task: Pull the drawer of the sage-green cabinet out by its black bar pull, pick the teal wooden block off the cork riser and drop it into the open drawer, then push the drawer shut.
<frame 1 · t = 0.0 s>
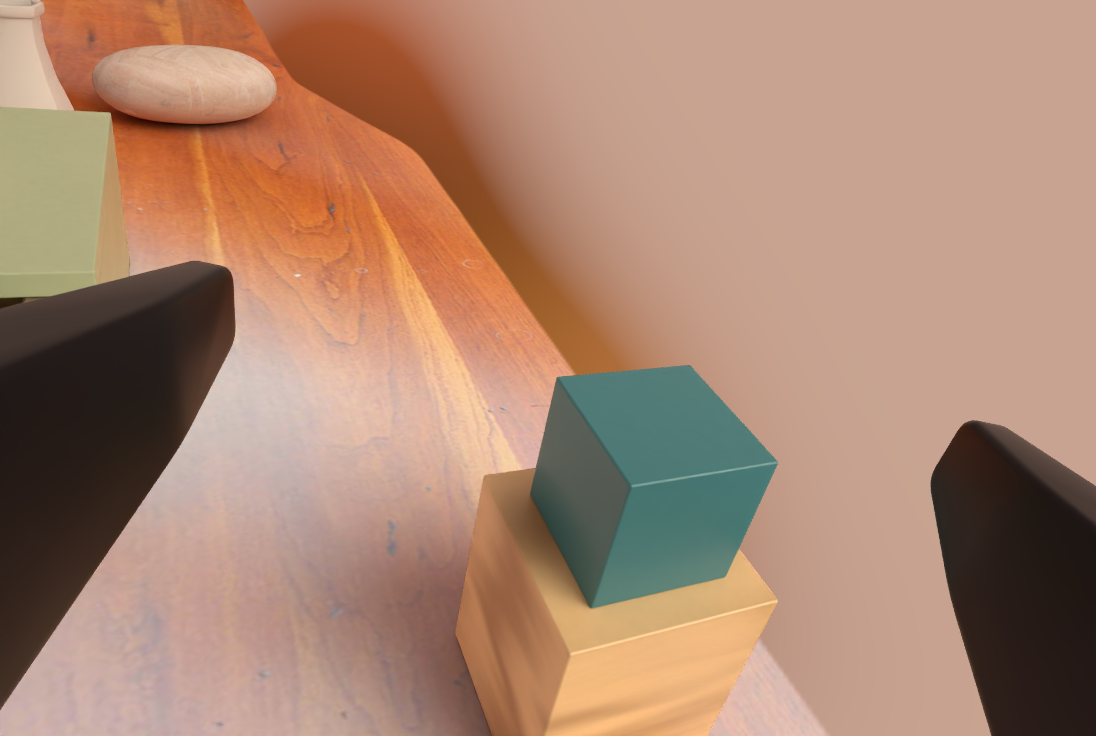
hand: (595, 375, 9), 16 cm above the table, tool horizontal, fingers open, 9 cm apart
riser: (572, 689, 24), on the table
decorative stone: (192, 121, 59), on the table
block: (624, 534, 20), point 7 cm above the table, touching riser
flask: (42, 180, 47), on the table
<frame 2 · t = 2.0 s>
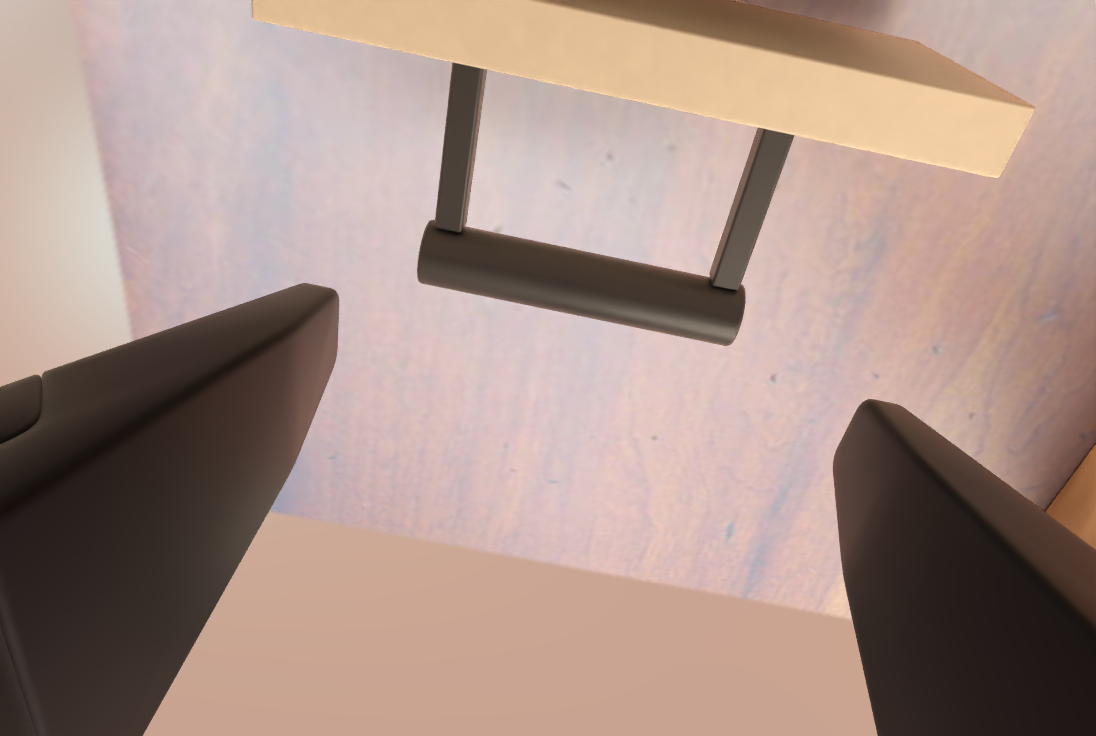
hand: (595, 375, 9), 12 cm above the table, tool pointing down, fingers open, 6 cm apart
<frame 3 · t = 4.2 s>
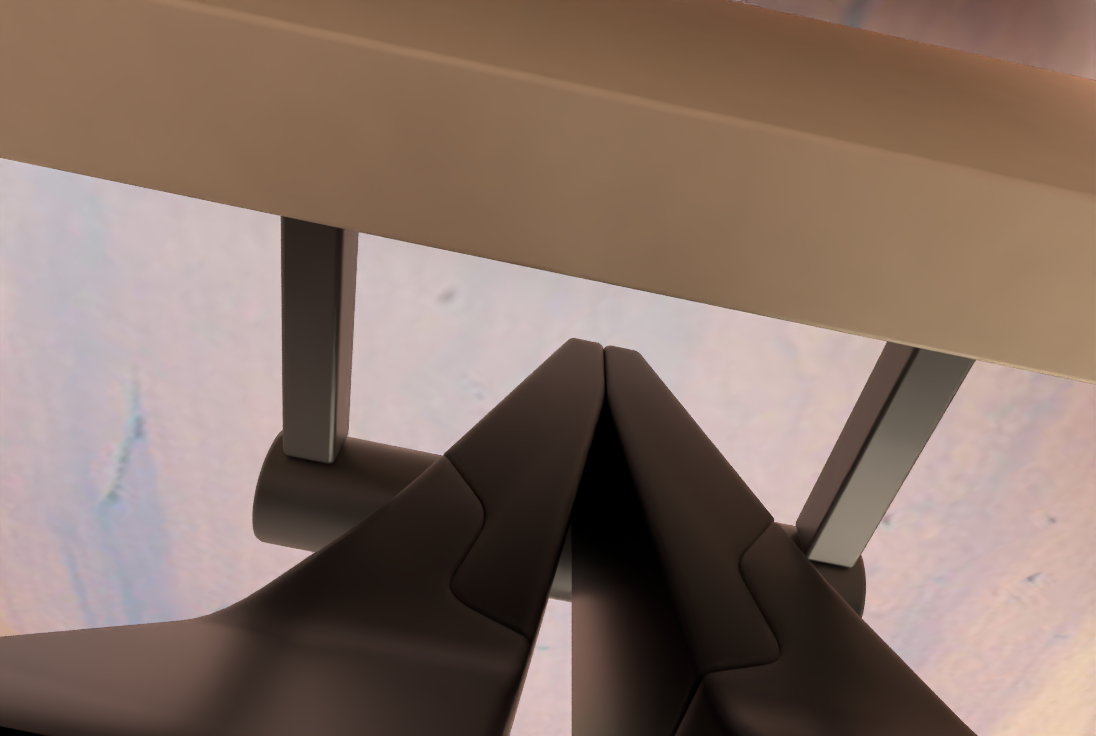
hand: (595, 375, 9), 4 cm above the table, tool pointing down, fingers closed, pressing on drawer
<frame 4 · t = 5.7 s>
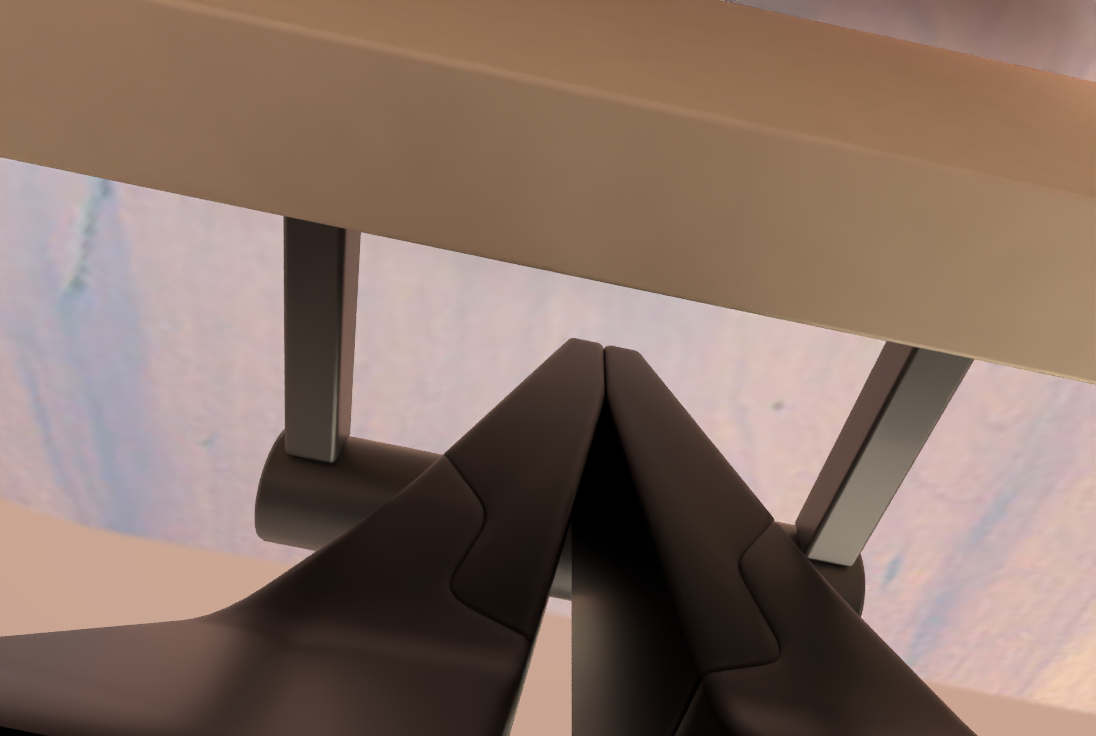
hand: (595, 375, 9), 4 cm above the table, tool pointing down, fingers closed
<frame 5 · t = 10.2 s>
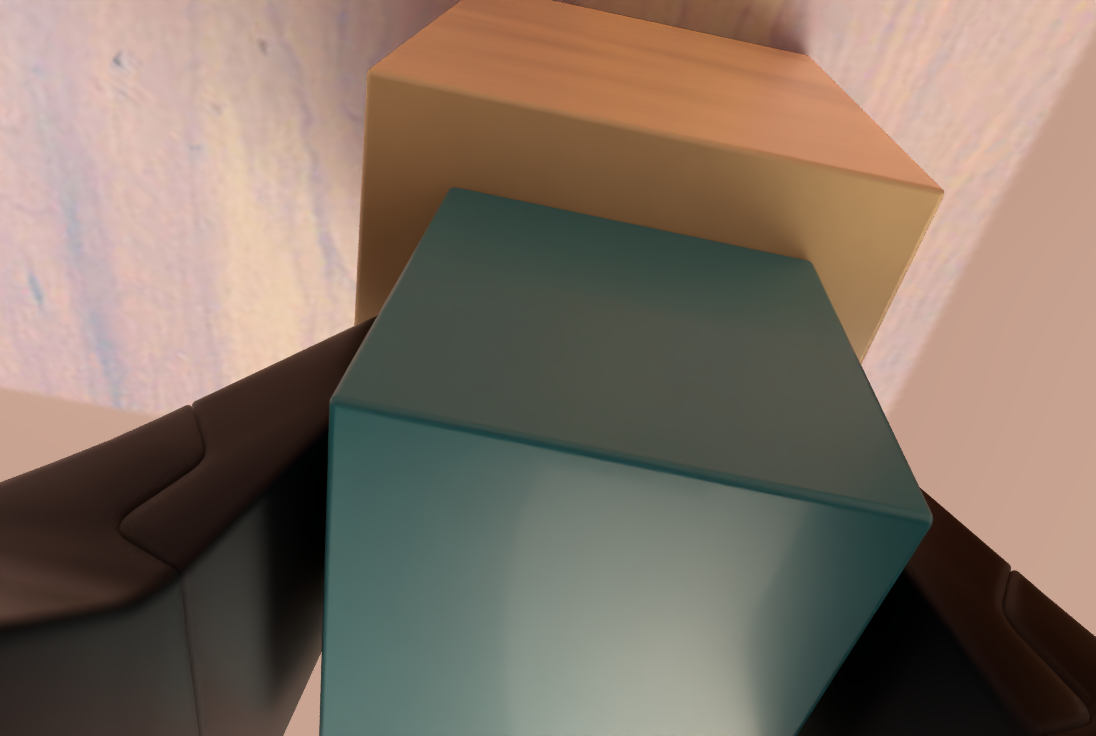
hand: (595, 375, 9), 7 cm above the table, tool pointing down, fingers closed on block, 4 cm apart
riser: (608, 181, 15), on the table
block: (593, 373, 9), point 7 cm above the table, touching gripper, riser
when the fingers open (6 cm above the table, at t = 15.6 s): block drops 4 cm, resting on drawer.
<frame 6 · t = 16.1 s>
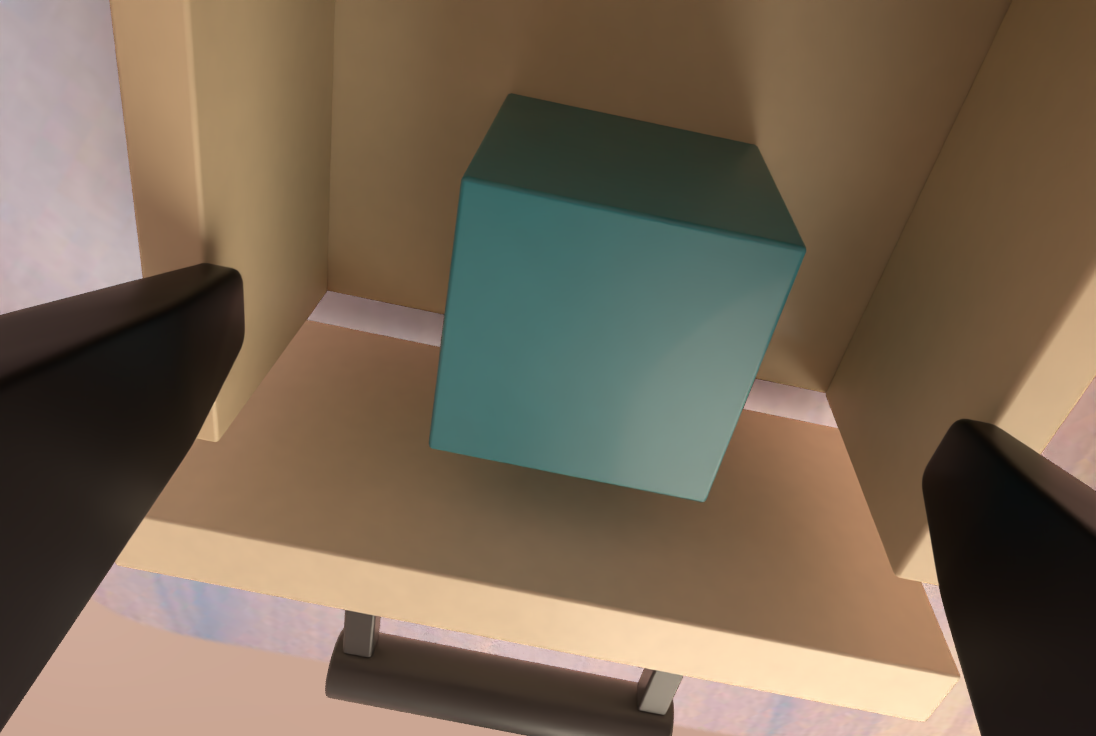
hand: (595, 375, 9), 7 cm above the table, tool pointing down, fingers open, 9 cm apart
block: (605, 235, 13), point 2 cm above the table, touching drawer
drawer: (599, 288, 12), point 4 cm above the table, slide at 9.7 cm, touching block
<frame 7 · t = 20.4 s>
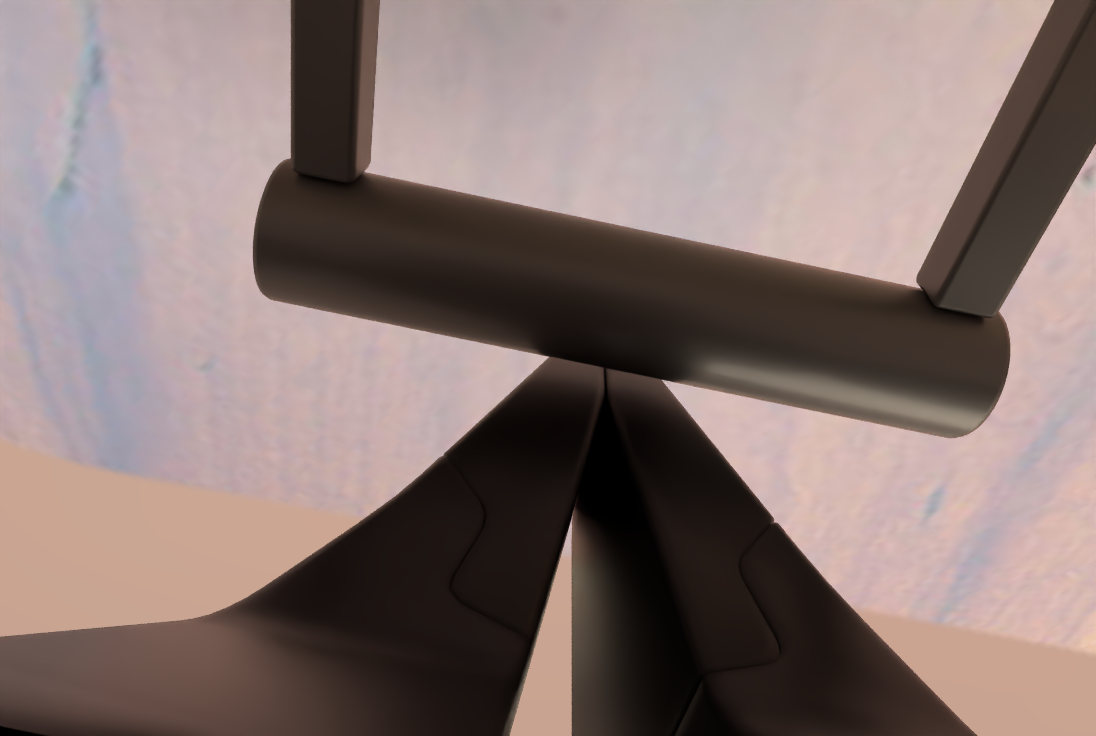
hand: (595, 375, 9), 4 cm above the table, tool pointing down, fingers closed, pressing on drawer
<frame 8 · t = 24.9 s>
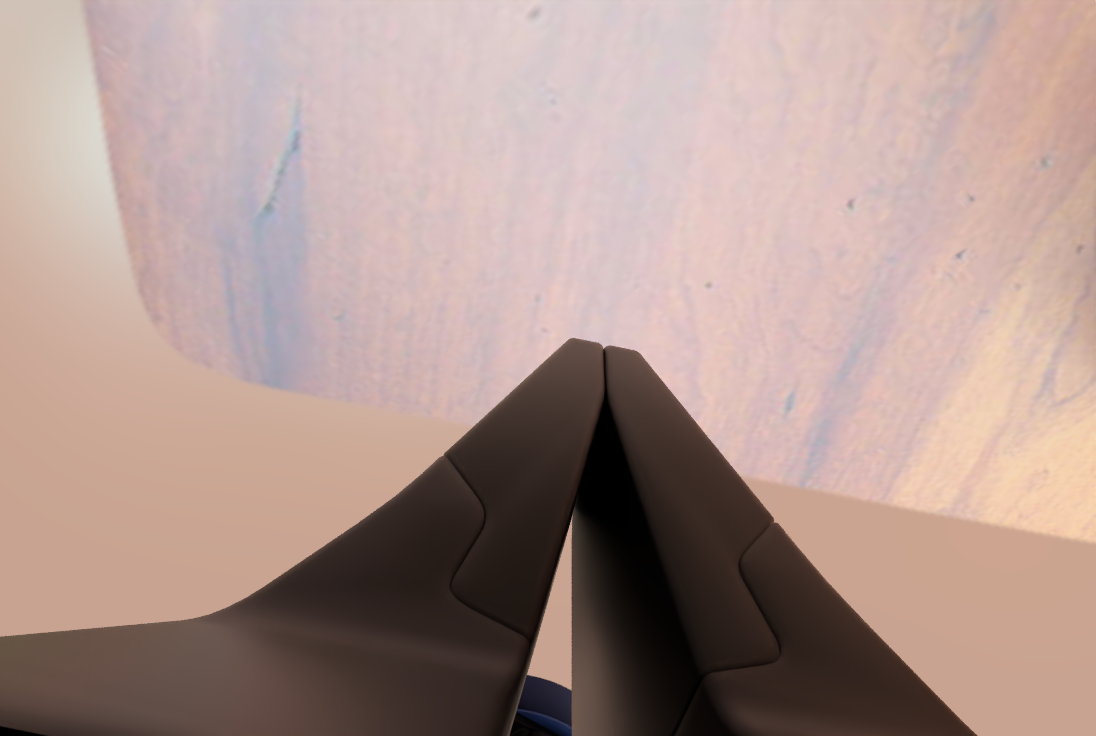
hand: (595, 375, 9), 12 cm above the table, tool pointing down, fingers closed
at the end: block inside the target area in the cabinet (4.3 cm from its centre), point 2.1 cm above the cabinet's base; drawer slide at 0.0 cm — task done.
